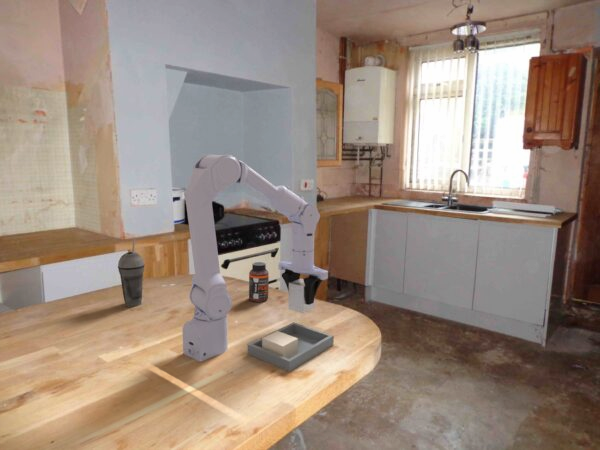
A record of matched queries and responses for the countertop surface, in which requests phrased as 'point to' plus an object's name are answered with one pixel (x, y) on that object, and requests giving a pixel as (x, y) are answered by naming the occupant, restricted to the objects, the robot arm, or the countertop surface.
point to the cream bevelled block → (281, 344)
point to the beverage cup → (131, 277)
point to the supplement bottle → (258, 282)
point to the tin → (298, 297)
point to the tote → (308, 346)
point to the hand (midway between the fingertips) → (301, 301)
